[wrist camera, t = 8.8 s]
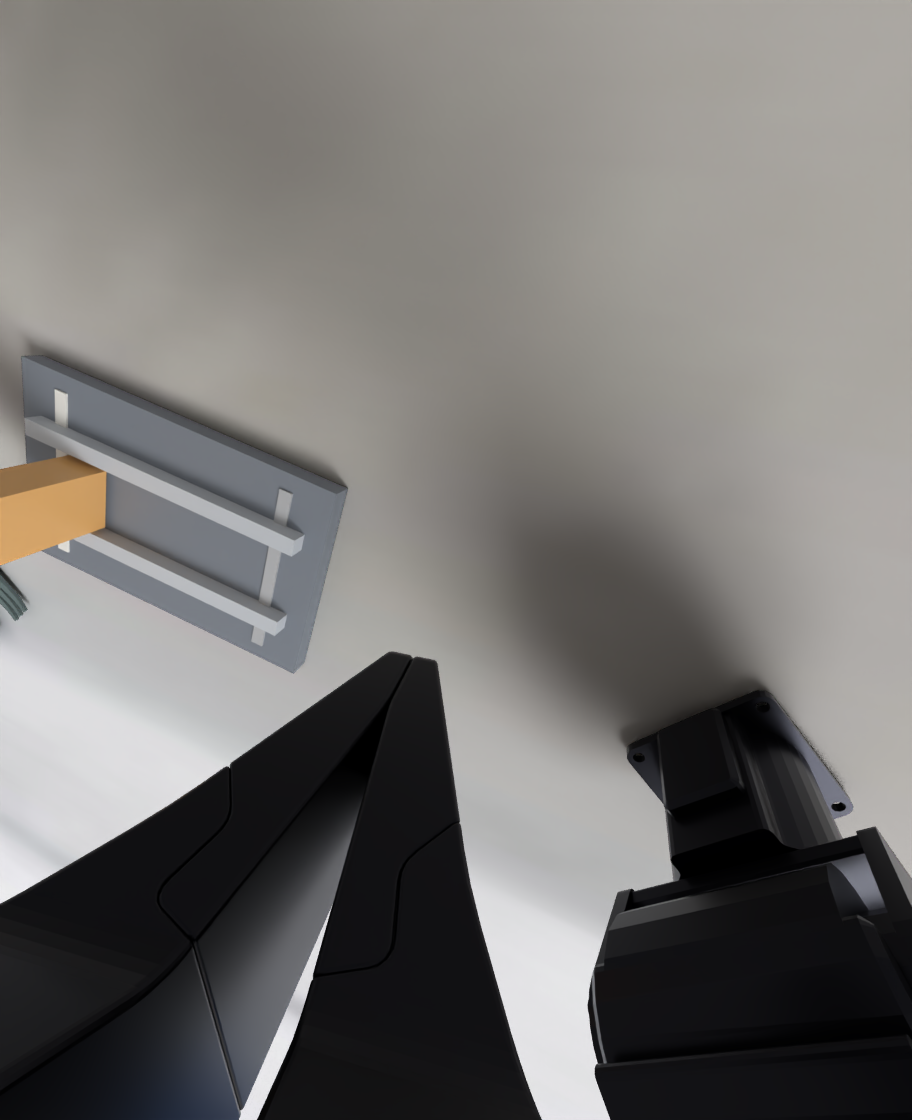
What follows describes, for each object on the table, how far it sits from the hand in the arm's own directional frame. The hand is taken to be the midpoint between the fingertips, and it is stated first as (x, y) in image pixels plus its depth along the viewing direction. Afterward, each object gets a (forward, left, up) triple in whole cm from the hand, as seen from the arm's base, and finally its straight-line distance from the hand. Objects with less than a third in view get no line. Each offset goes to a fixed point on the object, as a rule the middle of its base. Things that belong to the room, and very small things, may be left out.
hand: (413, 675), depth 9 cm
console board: (+9, +15, -13) cm, 21 cm away
